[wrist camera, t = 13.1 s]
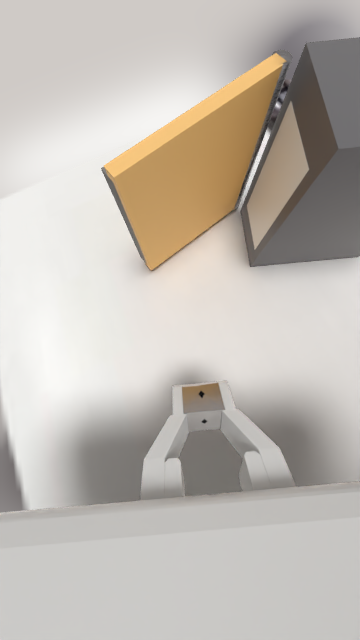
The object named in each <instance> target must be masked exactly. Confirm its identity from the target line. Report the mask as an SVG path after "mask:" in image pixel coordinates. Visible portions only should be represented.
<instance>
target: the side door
mask: <svg viewBox="0 0 360 640" xmlns="http://www.w3.org/2000/svg"><path fill="white" fill-rule="evenodd" d="M291 61H292V55H291V54H290V53H289V52H288V51H285V50H278V51H275V52H274V53H273V54H272V56H270V57H269V58H267V59H266V60H264V61H263V62H261V63H260V64H258V65H257V66H255V67H254V68H252V69H251V70H249V71H248V72H246V73H245V74H243V75H241V76H240V77H238V78H237V79H235V80H234V81H232V82H231V83H229V84H228V85H226V86H225V87H223V88H222V89H220V90H219V91H217V92H216V93H214V94H212V95H211V96H210V97H208V98H206V99H205V100H203V101H202V102H200V103H199V104H197V105H196V106H194V107H193V108H191V109H190V110H188V111H187V112H185V113H183V114H182V115H180V116H179V117H177V118H176V119H175V120H173V121H171V122H170V123H168V124H167V125H165V126H164V127H162V128H161V129H159V130H158V131H156V132H154V133H153V134H151V135H150V136H148V137H147V138H145V139H144V140H142V141H141V142H139V143H138V144H136V145H135V146H133V147H132V148H130V149H129V150H127V151H125V152H124V153H122V154H121V155H119V156H118V157H116V158H115V159H113V160H112V161H110V162H109V163H107V164H106V165H104V167H102V168H101V169H102V172H103V174H104V176H105V178H106V181H107V183H108V185H109V187H110V189H111V192H112V194H113V196H114V198H115V201H116V203H117V205H118V207H119V210H120V212H121V214H122V216H123V218H124V221H125V223H126V225H127V227H128V230H129V232H130V234H131V236H132V238H133V241H134V243H135V245H136V247H137V250H138V252H139V254H140V256H141V258H142V259H143V260H144V261H145V263H146V265H147V266H148V268H149V269H150V270H151V271H152V270H153V269H154V268H156V267H157V266H158V265H160V264H161V263H162V262H164V261H165V260H166V259H168V258H169V257H170V256H172V255H173V254H174V253H176V252H177V251H178V250H180V249H181V248H183V247H184V246H185V245H187V244H188V243H189V242H191V241H192V240H193V239H195V238H196V237H197V236H199V235H200V234H201V233H203V232H204V231H205V230H207V229H208V228H209V227H211V226H212V225H213V224H215V223H216V222H217V221H219V220H220V219H222V218H223V217H224V216H226V215H227V214H228V213H230V212H231V211H232V210H234V209H237V208H238V206H239V204H240V201H241V198H242V195H243V193H244V190H245V187H246V184H247V182H248V179H249V176H250V173H251V171H252V168H253V165H254V162H255V160H256V157H257V154H258V151H259V149H260V146H261V143H262V140H263V138H264V135H265V132H266V129H267V127H268V124H269V121H270V118H271V116H272V113H273V110H274V107H275V105H276V102H277V99H278V96H279V94H280V91H281V88H282V85H283V83H284V80H285V77H286V74H287V72H288V69H289V66H290V63H291Z"/></svg>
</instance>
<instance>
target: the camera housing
mask: <svg viewBox="0 0 360 640" xmlns="http://www.w3.org/2000/svg"><path fill="white" fill-rule="evenodd" d="M241 215H242V221H243V227H244V233H245V239H246V244H247V250H248V256H249V262H250V267H253V266H263V265H274V264H285V263H296V262H306V261H317V260H328V259H339V258H350V257H359V256H360V37H359V38H349V39H341V40H340V39H339V40H330V41H320V42H310V43H306V45H305V47H304V50H303V52H302V55H301V58H300V60H299V63H298V65H297V68H296V70H295V73H294V76H293V78H292V81H291V83H290V86H289V88H288V91H287V93H286V96H285V99H284V101H283V104H282V106H281V109H280V111H279V114H278V116H277V119H276V122H275V124H274V127H273V129H272V132H271V134H270V137H269V139H268V142H267V145H266V147H265V150H264V152H263V155H262V157H261V160H260V163H259V165H258V168H257V170H256V173H255V175H254V178H253V180H252V183H251V186H250V188H249V191H248V193H247V196H246V198H245V201H244V203H243V206H242V209H241Z"/></svg>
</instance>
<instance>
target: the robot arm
mask: <svg viewBox="0 0 360 640" xmlns="http://www.w3.org/2000/svg"><path fill="white" fill-rule="evenodd" d="M172 409H173V415H170V416H169V417H168V419H167V421H166V423H165V424H164V426H163V428H162V429H161V431H160V433H159V435H158V436H157V438H156V440H155V441H154V443H153V445H152V446H151V448H150V450H149V452H148V453H147V455H146V457H145V458H144V462H143V472H142V482H141V492H140V500H139V501H128V502H116V503H105V504H93V505H82V506H71V507H59V508H48V509H37V510H25V511H14V512H2V513H0V640H360V481H355V482H344V483H332V484H321V485H310V486H298V487H297V486H296V484H295V482H294V479H293V477H292V475H291V473H290V470H289V468H288V466H287V463H286V461H285V459H284V457H283V454H282V452H281V450H280V448H279V447H278V446H277V445H276V444H275V443H274V442H273V441H272V440H271V439H270V438H269V437H268V436H267V435H266V434H265V433H264V432H263V431H262V430H260V429H259V428H258V427H257V426H256V425H255V424H254V423H253V422H252V421H251V420H250V419H249V418H248V417H247V416H246V415H245V414H244V413H243V412H242V411H241V410H240V409H236V407H235V403H234V400H233V397H232V394H231V391H230V388H229V385H228V382H227V381H214V382H204V383H197V384H183V385H173V386H172ZM219 429H221V432H222V433H223V434H224V435H225V437H226V438H227V439H228V441H229V442H230V443H231V445H232V446H233V447H234V449H235V450H236V451H237V452H238V454H239V455H240V456H241V458H242V459H243V461H242V465H241V468H240V471H239V475H238V476H239V480H240V485H241V489H242V491H241V492H230V493H219V494H207V495H196V496H185V485H184V477H183V471H182V466H181V461H180V460H179V459H178V458H179V456H180V453H181V451H182V449H183V446H184V444H185V441H186V439H187V437H188V434H189V432H195V431H203V430H219Z"/></svg>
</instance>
